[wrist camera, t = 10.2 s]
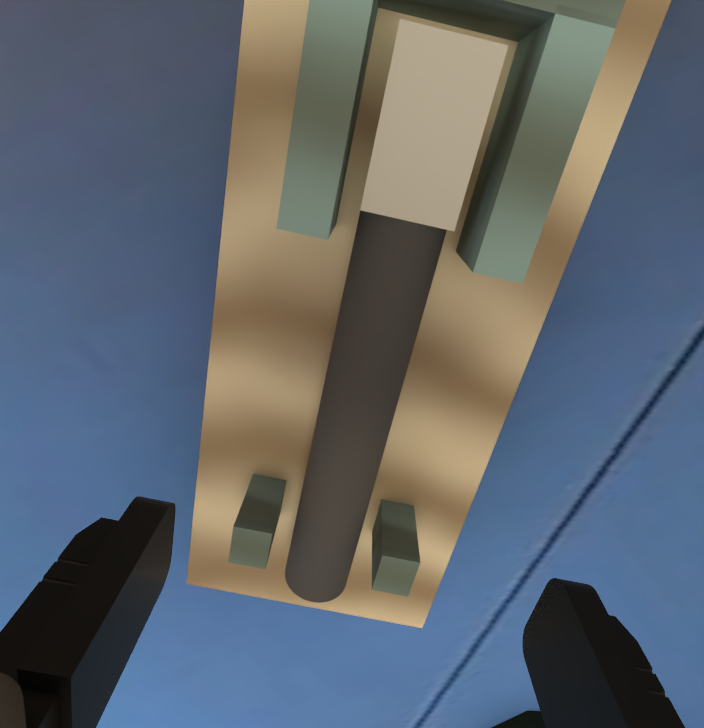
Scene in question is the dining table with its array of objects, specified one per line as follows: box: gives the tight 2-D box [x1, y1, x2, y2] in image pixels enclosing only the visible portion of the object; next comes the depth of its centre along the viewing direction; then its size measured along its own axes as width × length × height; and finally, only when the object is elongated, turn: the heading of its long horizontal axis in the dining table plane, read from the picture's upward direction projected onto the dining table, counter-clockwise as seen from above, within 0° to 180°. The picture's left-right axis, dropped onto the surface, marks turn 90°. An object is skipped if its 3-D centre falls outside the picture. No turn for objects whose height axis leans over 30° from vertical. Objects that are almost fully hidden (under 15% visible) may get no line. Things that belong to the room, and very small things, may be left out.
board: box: [187, 0, 671, 628], centre depth 19 cm, size 30×13×5 cm, turn 168°
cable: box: [285, 19, 509, 603], centre depth 19 cm, size 22×3×3 cm, turn 168°
